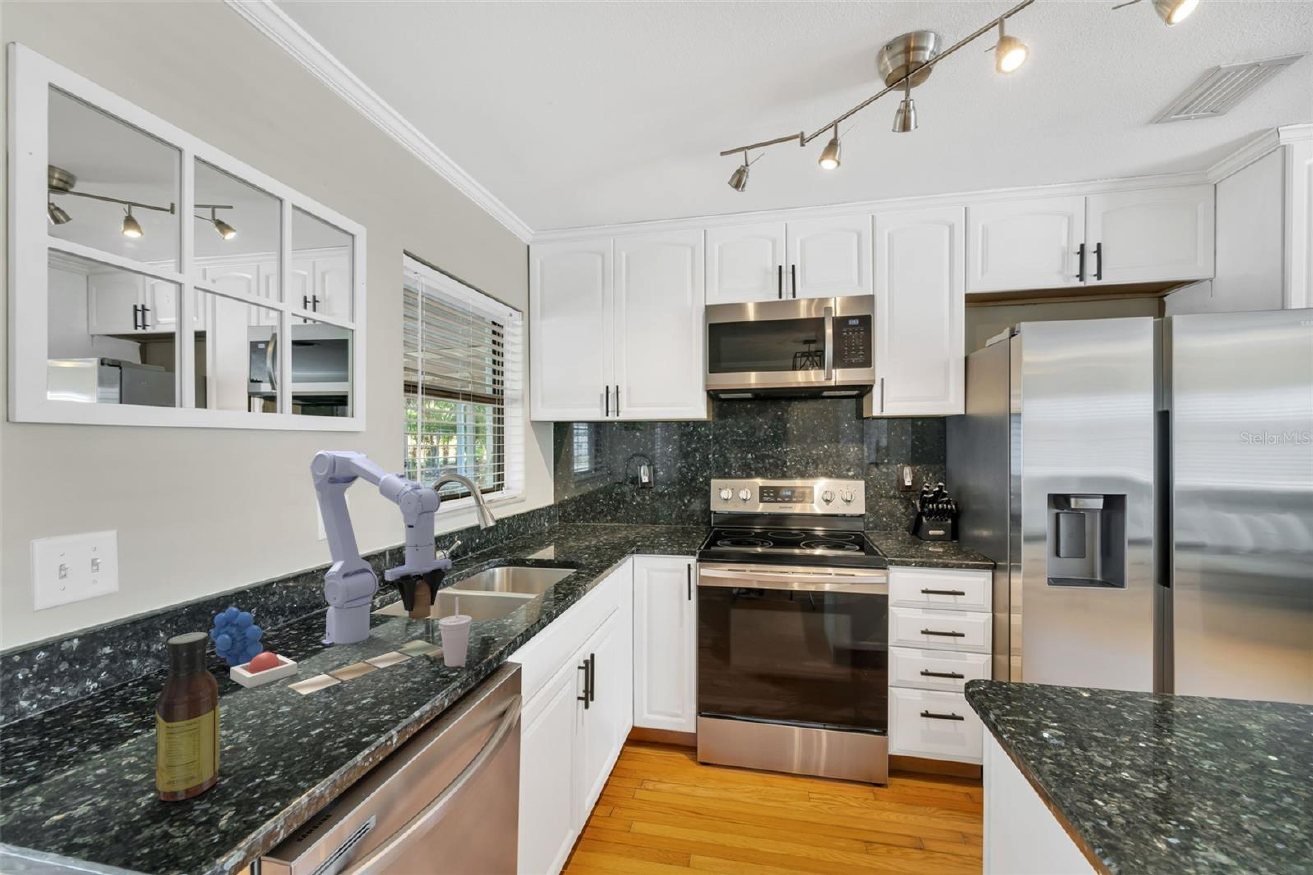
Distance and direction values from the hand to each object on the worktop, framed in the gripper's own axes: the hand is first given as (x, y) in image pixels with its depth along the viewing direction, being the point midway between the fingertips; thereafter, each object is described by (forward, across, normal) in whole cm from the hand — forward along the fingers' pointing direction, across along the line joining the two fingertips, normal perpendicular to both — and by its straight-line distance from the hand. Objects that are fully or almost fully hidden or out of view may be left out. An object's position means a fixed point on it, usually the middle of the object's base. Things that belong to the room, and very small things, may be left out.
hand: (419, 607), depth 118 cm
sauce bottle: (+10, -44, -18) cm, 49 cm away
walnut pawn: (+2, 0, 0) cm, 2 cm away
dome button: (+9, -24, +12) cm, 29 cm away
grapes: (+10, -26, +24) cm, 36 cm away
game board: (+10, -10, 0) cm, 14 cm away
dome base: (+10, -24, +12) cm, 29 cm away
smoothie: (+10, 0, -13) cm, 16 cm away
